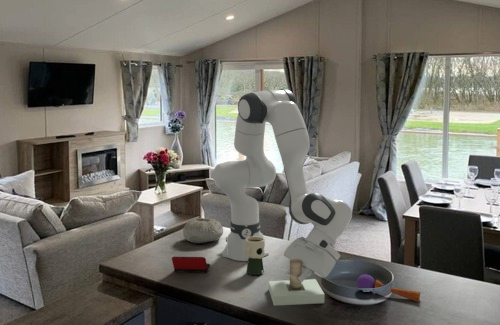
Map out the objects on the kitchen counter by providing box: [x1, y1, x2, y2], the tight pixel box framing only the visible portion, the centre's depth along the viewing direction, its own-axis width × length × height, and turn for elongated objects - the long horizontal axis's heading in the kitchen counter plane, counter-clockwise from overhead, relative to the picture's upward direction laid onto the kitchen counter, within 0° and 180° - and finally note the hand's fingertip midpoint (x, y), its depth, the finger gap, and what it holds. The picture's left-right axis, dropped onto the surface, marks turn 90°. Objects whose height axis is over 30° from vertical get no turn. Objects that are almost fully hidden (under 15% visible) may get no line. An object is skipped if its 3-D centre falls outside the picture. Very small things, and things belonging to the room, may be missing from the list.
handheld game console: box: [171, 256, 211, 274], centre depth 176 cm, size 12×11×7 cm
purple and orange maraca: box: [356, 273, 421, 303], centre depth 154 cm, size 6×6×20 cm
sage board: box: [268, 278, 325, 307], centre depth 154 cm, size 12×16×3 cm
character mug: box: [245, 236, 266, 276], centre depth 173 cm, size 11×7×13 cm, turn 149°
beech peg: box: [289, 259, 303, 291], centre depth 153 cm, size 4×4×12 cm
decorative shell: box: [182, 217, 224, 244], centre depth 210 cm, size 18×18×10 cm
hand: (294, 277), depth 153 cm, fingers open, 4 cm apart
